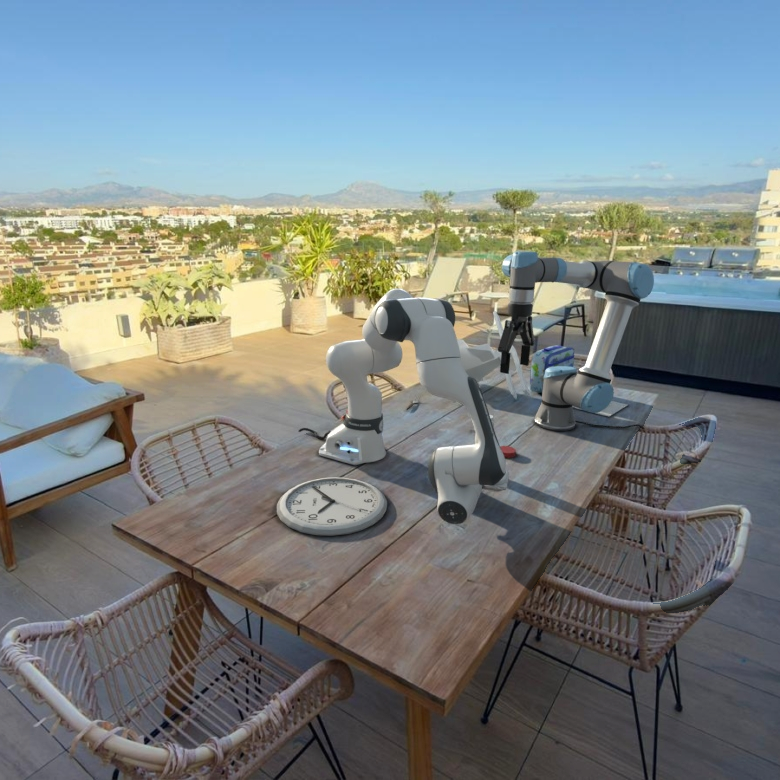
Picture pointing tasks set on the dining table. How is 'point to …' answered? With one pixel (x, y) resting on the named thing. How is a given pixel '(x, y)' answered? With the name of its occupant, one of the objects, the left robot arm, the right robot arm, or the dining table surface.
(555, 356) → the lunch box
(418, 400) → the fork
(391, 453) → the dining table surface
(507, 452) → the lid
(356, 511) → the wall clock
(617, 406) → the invitation card
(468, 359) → the white plastic object
